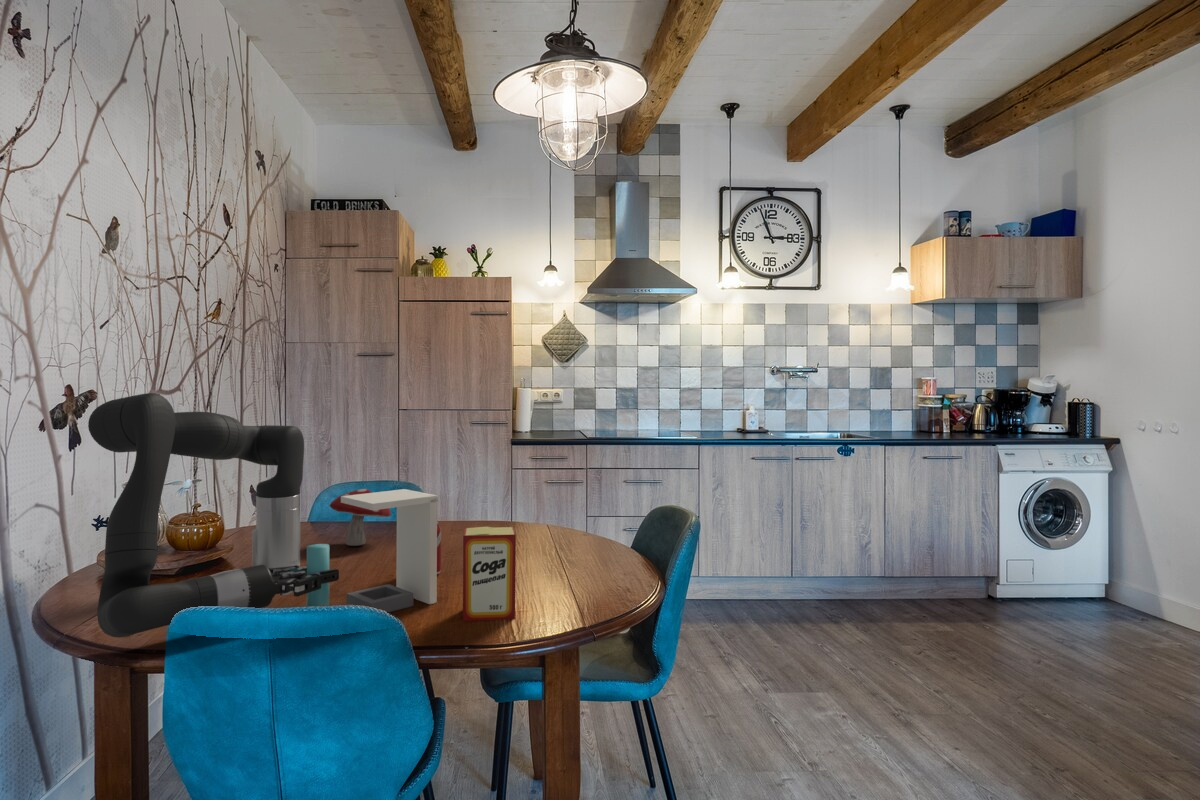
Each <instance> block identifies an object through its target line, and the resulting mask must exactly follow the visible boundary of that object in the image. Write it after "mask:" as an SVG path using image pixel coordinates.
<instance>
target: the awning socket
mask: <svg viewBox="0 0 1200 800" xmlns="http://www.w3.org/2000/svg"><path fill="white" fill-rule="evenodd" d="M340 496H341V495H340ZM438 502H439V495H438V494H433V493H427V492H422V491H416V490H412V489H406V488H402V489H393V490H386V491H385V490H384V491H383V490H382V491H378V492H377V491H376V492H375V491H374V492H373V493H366V494H357V495H348V496H341V503H345V504H349V505H353V506H357V507H361V508H365V509H369V510H380V509H387V508H389V509H394V508H396V566H395V567H396V577H395V578H396V580H395V581H396V585H392V584H390V583H387V584H382V585H378V586H377V585H376V586H373V587H369V588H364V589H360V590H356V591H352V592H347V593H346V605H347V604H353V605H365V606H369V607H374V608H377V609H382V610H385V611H387V612H388V613H391V612H392V613H393V612H395V611H399V610H403V609H407V608H411V607H414V599H415V600H416V601H419V602H422V603H424V604H428V605H433V604H436V603H437V597H438V596H437V594H438V593H437V591H438V589H437V588H438V587H437V586H438V585H437V583H438V579H437V577H438V576H437V575H438V574H437V521H438Z"/></svg>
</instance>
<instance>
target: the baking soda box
mask: <svg viewBox="0 0 1200 800" xmlns="http://www.w3.org/2000/svg"><path fill="white" fill-rule="evenodd" d="M462 537H463V539H462V541H463V542H462V543H463V545H462V546H463V547H462V549H463V550H462V622H470V621H471V622H472V621H473V622H474V621H492V620H493V621H495V620H497V621H498V620H515V619H516V560H517V559H516V553H517V552H516V550H517V549H516V547H517V546H516V545H517V544H516V543H517V541H516V540H517V539H516V537H517V535H516V530H515V527H512V526H511V527H510V526H509V527H507V526H505V527H501V526H500V527H490V526H478V527H466V528H464V529H463V536H462Z"/></svg>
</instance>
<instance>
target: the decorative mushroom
mask: <svg viewBox="0 0 1200 800" xmlns="http://www.w3.org/2000/svg"><path fill="white" fill-rule="evenodd" d="M366 493H374V492H373V491H371V490H369V489H367V488H362V489H356V490H353V491H349V492H346V493H344V494H340V495H339V496H337V497H336V498H335V499H333V500H332V501H331V502H330V504H329V507H330V508H331V509H332V510H335V511H336V512H339V513H347V514H350V515H352V517H351V520H350V521H349V523H348V524H347V529H346V533H345V545H347V546H351V547H358V546H362V545H364V544H366V539H367V538H366V530H365V527H364V518H365V517H371V518H372V517H374V518H375V517H376V518H389V517H391V516H392V512H391V508H387V509H380V510H369V509H365V508H361V507H357V506H353V505H349V504H345V503H341V496H348V495H357V494H366Z"/></svg>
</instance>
